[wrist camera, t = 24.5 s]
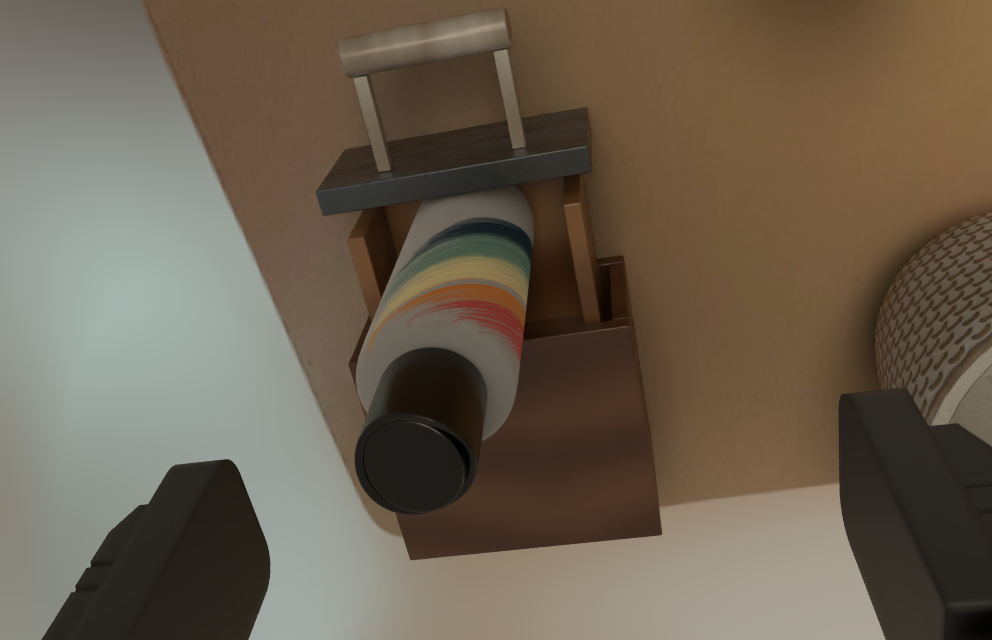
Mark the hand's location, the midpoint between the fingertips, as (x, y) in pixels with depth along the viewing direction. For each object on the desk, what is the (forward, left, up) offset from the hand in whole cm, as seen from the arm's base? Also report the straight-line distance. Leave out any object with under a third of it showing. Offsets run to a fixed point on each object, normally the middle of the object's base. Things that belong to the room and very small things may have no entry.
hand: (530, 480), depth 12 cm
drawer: (-6, -7, -34) cm, 35 cm away
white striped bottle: (-6, -9, -33) cm, 34 cm away
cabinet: (-6, -19, -34) cm, 39 cm away
